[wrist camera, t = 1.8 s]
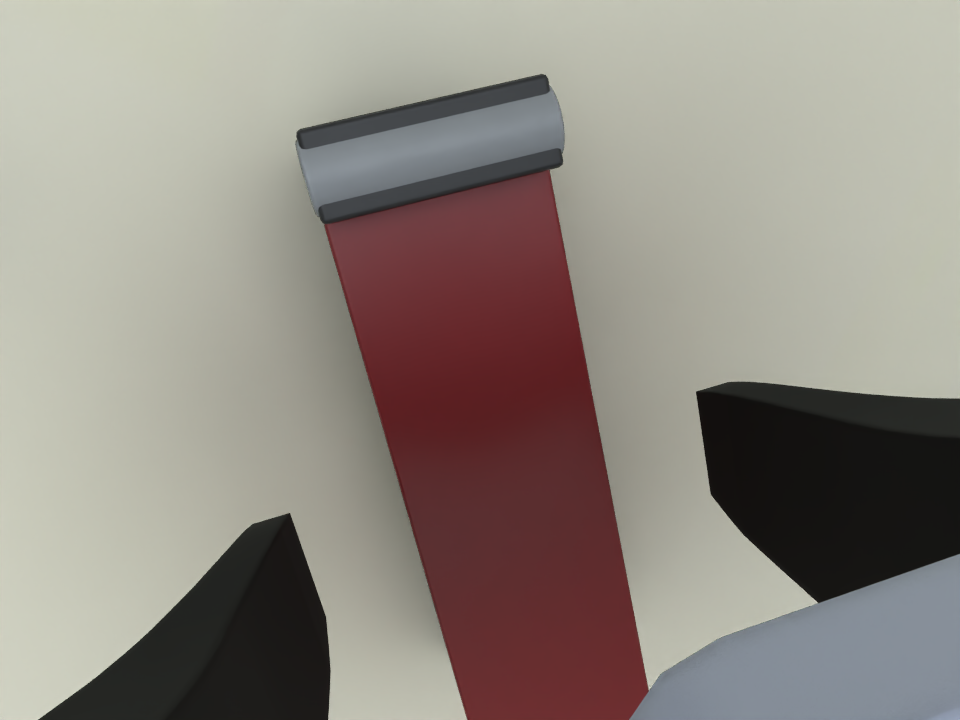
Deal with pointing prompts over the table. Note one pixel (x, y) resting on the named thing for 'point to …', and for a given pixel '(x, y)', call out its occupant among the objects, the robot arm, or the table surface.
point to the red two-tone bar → (485, 391)
